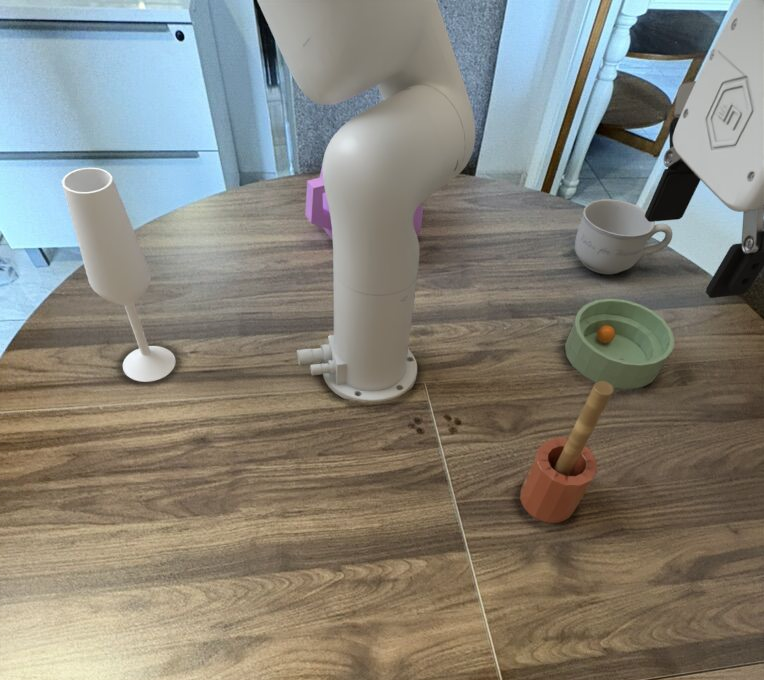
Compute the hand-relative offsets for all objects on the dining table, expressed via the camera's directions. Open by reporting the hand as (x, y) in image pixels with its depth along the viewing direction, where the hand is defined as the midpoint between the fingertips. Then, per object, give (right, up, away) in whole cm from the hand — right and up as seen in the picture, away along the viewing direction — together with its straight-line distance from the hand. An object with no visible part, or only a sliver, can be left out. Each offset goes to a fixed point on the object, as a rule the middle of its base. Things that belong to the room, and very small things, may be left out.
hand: (691, 254), depth 48 cm
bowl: (+8, +1, +38) cm, 39 cm away
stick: (-5, -19, +23) cm, 30 cm away
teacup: (+13, +19, +51) cm, 56 cm away
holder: (-5, -19, +24) cm, 31 cm away
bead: (+7, +5, +39) cm, 40 cm away
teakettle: (-26, +26, +53) cm, 64 cm away
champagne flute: (-55, -1, +33) cm, 64 cm away
